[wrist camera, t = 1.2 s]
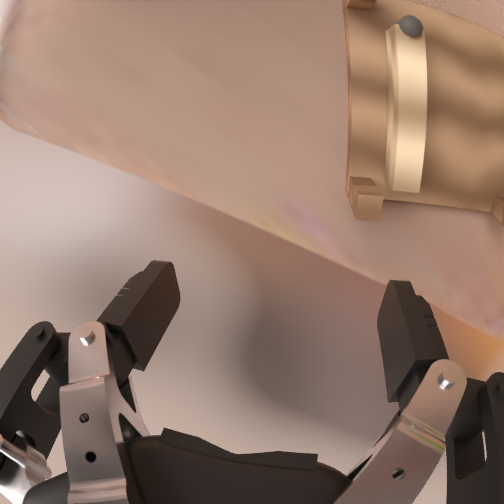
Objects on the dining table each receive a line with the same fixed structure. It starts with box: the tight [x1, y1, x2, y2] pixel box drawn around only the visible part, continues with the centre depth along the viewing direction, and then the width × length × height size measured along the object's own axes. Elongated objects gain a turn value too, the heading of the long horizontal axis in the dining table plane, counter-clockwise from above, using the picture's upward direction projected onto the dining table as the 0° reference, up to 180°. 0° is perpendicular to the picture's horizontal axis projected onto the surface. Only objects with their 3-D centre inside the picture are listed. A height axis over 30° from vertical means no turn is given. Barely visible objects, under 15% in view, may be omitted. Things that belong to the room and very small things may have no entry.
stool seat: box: [342, 0, 504, 225], centre depth 16 cm, size 20×19×7 cm
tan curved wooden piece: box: [384, 15, 427, 193], centre depth 17 cm, size 15×2×4 cm, turn 3°
